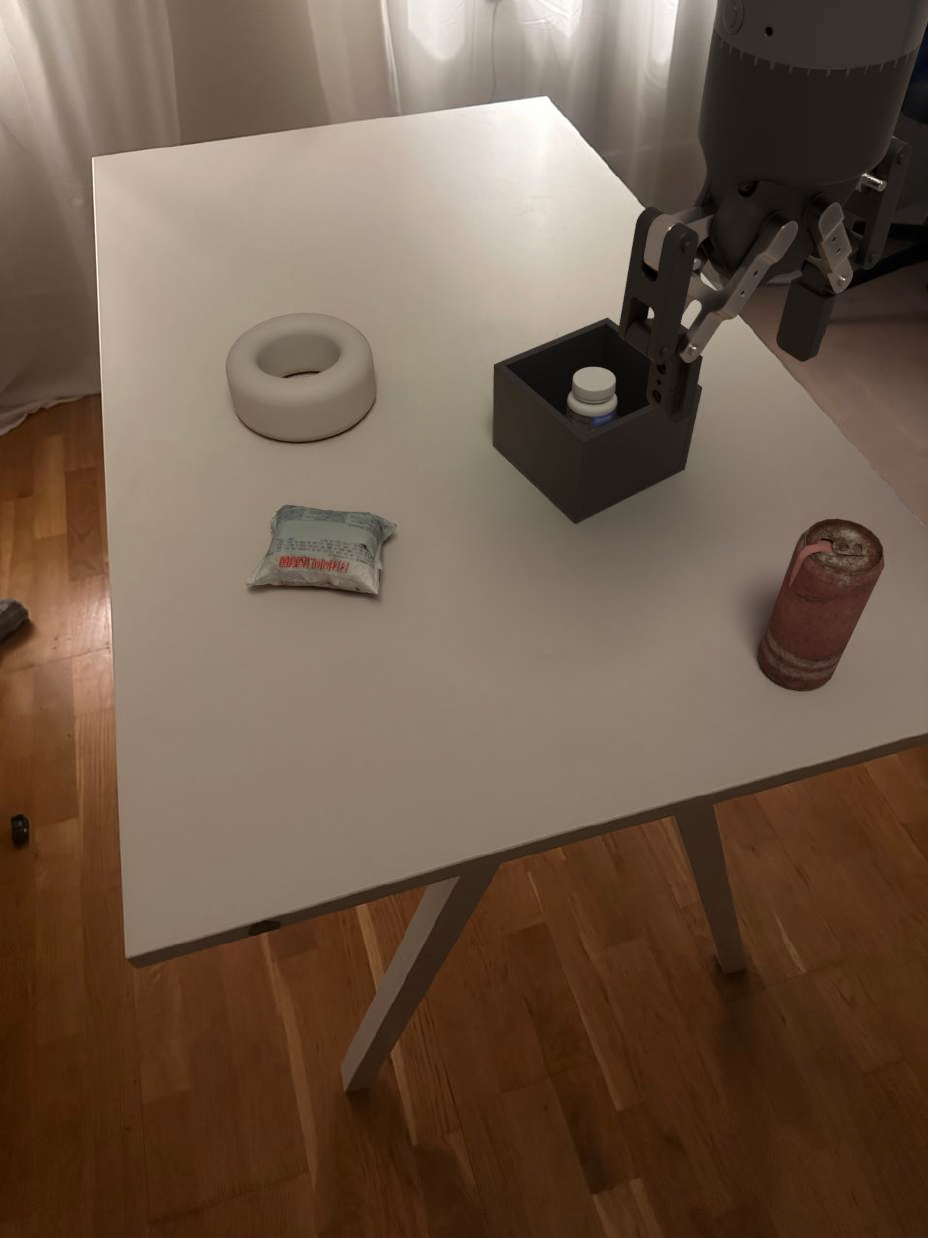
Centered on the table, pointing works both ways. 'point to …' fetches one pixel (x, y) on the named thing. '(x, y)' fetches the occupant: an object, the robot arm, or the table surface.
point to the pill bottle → (592, 399)
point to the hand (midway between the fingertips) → (734, 381)
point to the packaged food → (324, 549)
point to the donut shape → (303, 401)
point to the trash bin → (561, 453)
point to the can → (820, 602)
